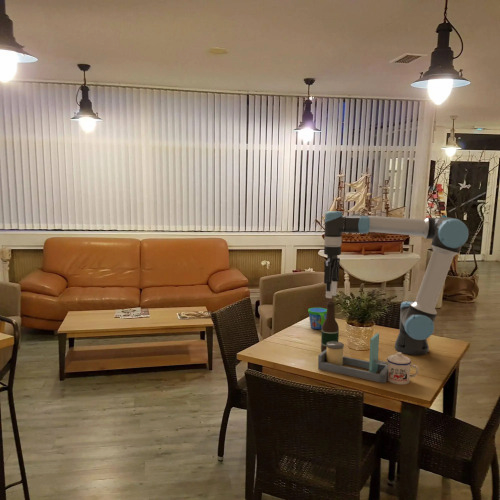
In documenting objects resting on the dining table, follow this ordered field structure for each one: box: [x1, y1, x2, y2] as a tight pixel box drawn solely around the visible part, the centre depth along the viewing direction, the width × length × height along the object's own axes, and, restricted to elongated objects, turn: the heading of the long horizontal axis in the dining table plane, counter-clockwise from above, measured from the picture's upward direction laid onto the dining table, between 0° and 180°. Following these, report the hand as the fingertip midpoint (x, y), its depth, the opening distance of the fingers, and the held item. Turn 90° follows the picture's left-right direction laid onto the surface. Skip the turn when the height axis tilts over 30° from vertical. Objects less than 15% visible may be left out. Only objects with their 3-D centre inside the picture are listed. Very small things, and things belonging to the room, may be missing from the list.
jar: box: [326, 341, 345, 366], centre depth 197 cm, size 7×7×10 cm
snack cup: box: [307, 307, 327, 330], centre depth 252 cm, size 16×10×10 cm
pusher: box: [368, 332, 388, 373], centre depth 186 cm, size 7×9×16 cm
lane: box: [317, 349, 388, 384], centre depth 192 cm, size 28×12×6 cm, turn 59°
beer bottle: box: [320, 301, 340, 353], centre depth 212 cm, size 8×8×24 cm
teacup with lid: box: [386, 351, 419, 385], centre depth 183 cm, size 12×9×12 cm
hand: (331, 296), depth 210 cm, fingers open, 5 cm apart
